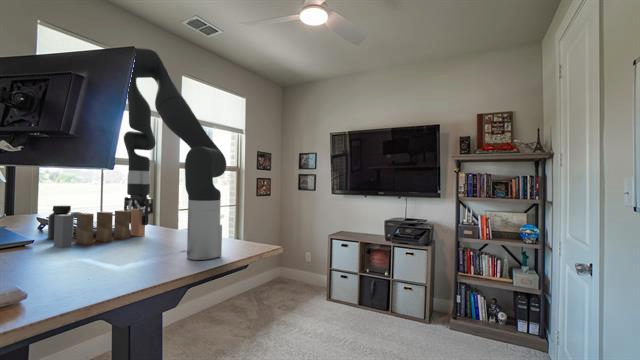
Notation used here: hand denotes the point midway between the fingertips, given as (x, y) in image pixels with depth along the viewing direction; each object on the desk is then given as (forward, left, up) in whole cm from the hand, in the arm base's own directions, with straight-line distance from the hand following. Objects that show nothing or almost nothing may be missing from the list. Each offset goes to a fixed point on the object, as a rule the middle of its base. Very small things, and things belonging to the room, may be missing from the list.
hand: (137, 224), depth 114 cm
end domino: (+21, +12, -4) cm, 24 cm away
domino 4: (0, 0, -4) cm, 4 cm away
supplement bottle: (+23, -3, -4) cm, 24 cm away
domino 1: (+16, +9, -4) cm, 19 cm away
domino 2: (+10, +6, -4) cm, 13 cm away
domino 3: (+5, +3, -4) cm, 7 cm away
